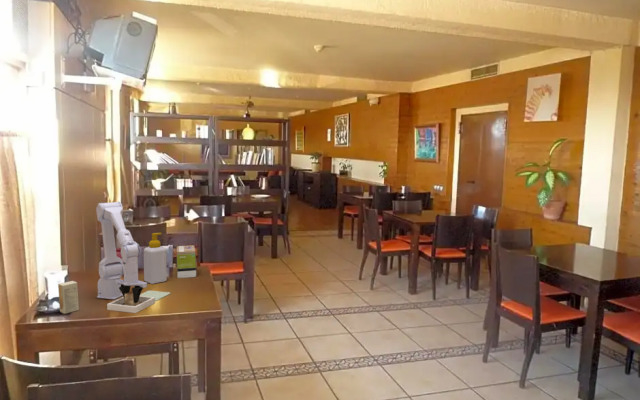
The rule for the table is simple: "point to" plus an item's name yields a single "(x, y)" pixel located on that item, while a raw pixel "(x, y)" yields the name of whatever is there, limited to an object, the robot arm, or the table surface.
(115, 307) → the white bin
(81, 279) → the table surface
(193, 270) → the tea box
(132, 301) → the birch block
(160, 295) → the sage tile
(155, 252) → the soap bottle
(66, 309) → the skincare box
